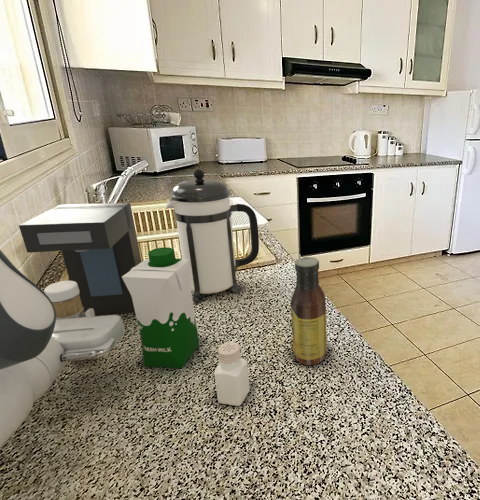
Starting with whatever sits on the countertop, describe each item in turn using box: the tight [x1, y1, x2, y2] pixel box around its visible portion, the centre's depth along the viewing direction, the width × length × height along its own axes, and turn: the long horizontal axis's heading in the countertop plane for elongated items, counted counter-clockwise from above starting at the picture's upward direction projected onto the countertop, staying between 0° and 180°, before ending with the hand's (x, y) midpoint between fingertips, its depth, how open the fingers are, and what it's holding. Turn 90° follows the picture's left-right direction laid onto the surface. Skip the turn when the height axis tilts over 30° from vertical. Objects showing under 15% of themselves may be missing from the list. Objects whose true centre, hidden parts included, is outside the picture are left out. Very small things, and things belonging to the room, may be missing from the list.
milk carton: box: [122, 246, 200, 369], centre depth 66 cm, size 9×9×20 cm
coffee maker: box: [18, 202, 143, 316], centre depth 75 cm, size 13×14×24 cm
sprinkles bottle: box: [43, 280, 84, 320], centre depth 65 cm, size 5×5×13 cm
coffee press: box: [164, 168, 260, 304], centre depth 89 cm, size 17×16×30 cm
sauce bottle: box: [290, 256, 328, 366], centre depth 66 cm, size 6×6×20 cm
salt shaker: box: [213, 341, 251, 407], centre depth 58 cm, size 4×4×10 cm
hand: (71, 313), depth 65 cm, fingers closed on sprinkles bottle, 4 cm apart
